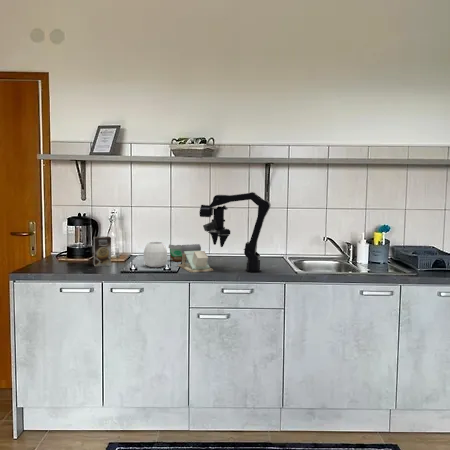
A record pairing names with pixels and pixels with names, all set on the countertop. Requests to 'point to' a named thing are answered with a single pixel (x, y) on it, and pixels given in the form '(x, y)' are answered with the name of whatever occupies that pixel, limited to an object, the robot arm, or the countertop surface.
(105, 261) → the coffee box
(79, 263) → the countertop surface
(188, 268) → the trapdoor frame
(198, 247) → the trapdoor
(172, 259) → the food container
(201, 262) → the beige cube
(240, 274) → the countertop surface
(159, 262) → the white round vase
